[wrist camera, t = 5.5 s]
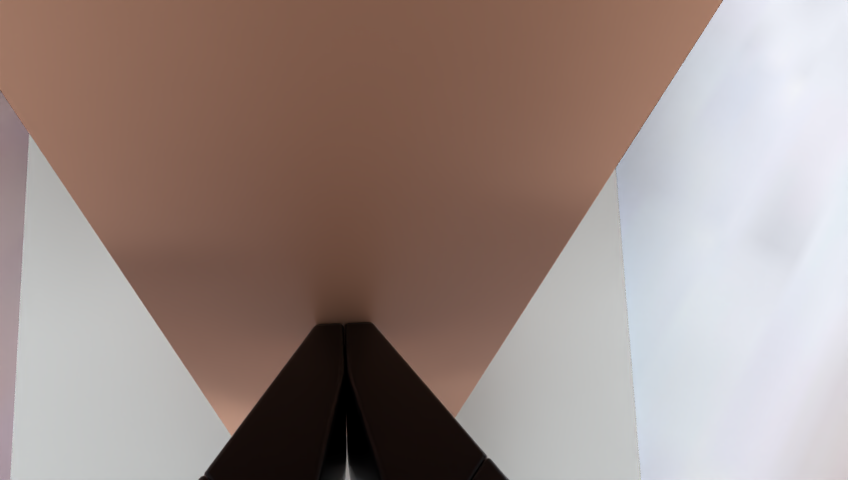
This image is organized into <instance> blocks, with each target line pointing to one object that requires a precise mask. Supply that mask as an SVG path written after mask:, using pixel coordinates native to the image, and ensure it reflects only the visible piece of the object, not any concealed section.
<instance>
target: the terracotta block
mask: <svg viewBox="0 0 848 480" xmlns="http://www.w3.org/2000/svg"><path fill="white" fill-rule="evenodd" d="M722 1H723V0H0V90H1V92H2V93H3V95H4V96H5V98H6V99H7V101H8V102H9V104H10V105H11V107H12V108H13V110H14V111H15V113H16V114H17V116H18V117H19V119H20V120H21V122H22V123H23V125H24V126H25V128H26V129H27V131H28V132H29V134H30V135H31V137H32V138H33V140H34V141H35V143H36V144H37V146H38V147H39V149H40V150H41V152H42V153H43V155H44V156H45V158H46V159H47V161H48V162H49V164H50V165H51V167H52V168H53V170H54V171H55V173H56V174H57V176H58V177H59V179H60V180H61V182H62V183H63V185H64V186H65V188H66V189H67V191H68V192H69V194H70V195H71V197H72V198H73V200H74V201H75V203H76V204H77V206H78V207H79V209H80V210H81V212H82V213H83V215H84V216H85V218H86V219H87V221H88V222H89V224H90V225H91V227H92V228H93V230H94V231H95V233H96V234H97V236H98V237H99V239H100V240H101V242H102V243H103V245H104V246H105V248H106V249H107V251H108V252H109V254H110V255H111V257H112V258H113V259H114V261H115V262H116V264H117V265H118V267H119V268H120V270H121V271H122V273H123V274H124V276H125V277H126V279H127V280H128V282H129V283H130V285H131V286H132V288H133V289H134V291H135V292H136V294H137V295H138V297H139V298H140V300H141V301H142V303H143V304H144V306H145V307H146V309H147V310H148V312H149V313H150V315H151V316H152V318H153V319H154V321H155V322H156V324H157V325H158V327H159V328H160V330H161V331H162V333H163V334H164V336H165V337H166V339H167V340H168V342H169V343H170V345H171V346H172V348H173V349H174V351H175V352H176V354H177V355H178V357H179V358H180V360H181V361H182V363H183V364H184V366H185V367H186V369H187V370H188V372H189V373H190V375H191V376H192V378H193V379H194V381H195V382H196V384H197V385H198V387H199V388H200V390H201V391H202V393H203V394H204V396H205V397H206V399H207V400H208V402H209V403H210V405H211V406H212V408H213V409H214V411H215V412H216V414H217V415H218V417H219V418H220V420H221V421H222V423H223V424H224V426H225V427H226V429H227V430H228V432H229V433H230V435H231V436H232V435H233V434H234V433H235V431H236V430H237V429H238V427H239V426H240V425H241V423H242V422H243V421H244V419H245V418H246V417H247V415H248V414H249V413H250V411H251V410H252V409H253V407H254V406H255V405H256V403H257V402H258V401H259V399H260V398H261V397H262V395H263V394H264V393H265V391H266V390H267V389H268V387H269V386H270V385H271V383H272V382H273V381H274V379H275V378H276V377H277V375H278V374H279V373H280V371H281V370H282V368H283V367H284V366H285V364H286V363H287V362H288V360H289V359H290V358H291V356H292V355H293V354H294V352H295V351H296V350H297V348H298V347H299V346H300V344H301V343H302V342H303V340H304V339H305V338H306V336H307V335H308V334H309V332H310V331H311V330H312V328H313V327H314V326H315V325H317V324H331V323H340V324H342V325H343V327H345V325H346V324H347V323H359V322H371V323H373V324H374V325H375V326H376V327H377V329H378V330H379V331H380V332H381V333H382V334H383V336H384V337H385V338H386V339H387V340H388V341H389V342H390V344H391V345H392V346H393V347H394V348H395V349H396V351H397V352H398V353H399V354H400V355H401V356H402V358H403V359H404V360H405V361H406V362H407V363H408V364H409V366H410V367H411V368H412V369H413V370H414V371H415V373H416V374H417V375H418V376H419V377H420V378H421V380H422V381H423V382H424V383H425V384H426V385H427V387H428V388H429V389H430V390H431V391H432V392H433V393H434V395H435V396H436V397H437V398H438V399H439V400H440V402H441V403H442V404H443V405H444V406H445V407H446V409H447V410H448V411H449V412H450V413H451V414H452V415H453V417H454V418H455V417H456V416H457V414H458V412H459V411H460V409H461V408H462V406H463V405H464V403H465V402H466V400H467V398H468V397H469V395H470V394H471V392H472V391H473V389H474V388H475V386H476V384H477V383H478V381H479V380H480V378H481V377H482V375H483V374H484V372H485V370H486V369H487V367H488V366H489V364H490V363H491V361H492V360H493V358H494V356H495V355H496V353H497V352H498V350H499V349H500V347H501V345H502V344H503V342H504V341H505V339H506V338H507V336H508V335H509V333H510V331H511V330H512V328H513V327H514V325H515V324H516V322H517V321H518V319H519V317H520V316H521V314H522V313H523V311H524V310H525V308H526V307H527V305H528V303H529V302H530V300H531V299H532V297H533V296H534V294H535V293H536V291H537V289H538V288H539V286H540V285H541V283H542V282H543V280H544V279H545V277H546V275H547V274H548V272H549V271H550V269H551V268H552V266H553V264H554V263H555V261H556V260H557V258H558V257H559V255H560V254H561V252H562V250H563V249H564V247H565V246H566V244H567V243H568V241H569V240H570V238H571V236H572V235H573V233H574V232H575V230H576V229H577V227H578V226H579V224H580V222H581V221H582V219H583V218H584V216H585V215H586V213H587V212H588V210H589V208H590V207H591V205H592V204H593V202H594V201H595V199H596V198H597V196H598V194H599V193H600V191H601V190H602V188H603V187H604V185H605V183H606V182H607V180H608V179H609V177H610V176H611V174H612V173H613V171H614V169H615V168H616V166H617V165H618V163H619V162H620V160H621V159H622V157H623V155H624V154H625V152H626V151H627V149H628V148H629V146H630V145H631V143H632V141H633V140H634V138H635V137H636V135H637V134H638V132H639V131H640V129H641V127H642V126H643V124H644V123H645V121H646V120H647V118H648V117H649V115H650V113H651V112H652V110H653V109H654V107H655V106H656V104H657V102H658V101H659V99H660V98H661V96H662V95H663V93H664V92H665V90H666V88H667V87H668V85H669V84H670V82H671V81H672V79H673V78H674V76H675V74H676V73H677V71H678V70H679V68H680V67H681V65H682V64H683V62H684V60H685V59H686V57H687V56H688V54H689V53H690V51H691V50H692V48H693V46H694V45H695V43H696V42H697V40H698V39H699V37H700V36H701V34H702V32H703V31H704V29H705V28H706V26H707V25H708V23H709V21H710V20H711V18H712V17H713V15H714V14H715V12H716V11H717V9H718V7H719V6H720V4H721V3H722ZM346 436H347V428H346Z"/></svg>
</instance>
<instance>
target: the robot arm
mask: <svg viewBox="0 0 848 480" xmlns="http://www.w3.org/2000/svg"><path fill="white" fill-rule="evenodd" d="M346 428H347V437H346ZM347 456H348V468H349V475H350V480H509V479H508V478H507V477H506V476H505V475H504V474H503V472H502V471H501V470H500V469H499V468H498V466H497V465H496V464H495V463H494V462H493V461H492V460H491V459H490V458H487V455H486V454H485V453H484V451H483V450H482V449H481V448H480V447H479V446H478V444H477V443H476V442H475V441H474V440H473V439H472V438H471V436H470V435H469V434H468V433H467V432H466V431H465V429H464V428H463V427H462V426H461V425H460V424H459V422H458V421H457V420H456V419H455V418H454V417H453V415H452V414H451V413H450V412H449V411H448V410H447V409H446V407H445V406H444V405H443V404H442V403H441V402H440V400H439V399H438V398H437V397H436V396H435V395H434V393H433V392H432V391H431V390H430V389H429V388H428V387H427V385H426V384H425V383H424V382H423V381H422V380H421V378H420V377H419V376H418V375H417V374H416V373H415V371H414V370H413V369H412V368H411V367H410V366H409V364H408V363H407V362H406V361H405V360H404V359H403V358H402V356H401V355H400V354H399V353H398V352H397V351H396V349H395V348H394V347H393V346H392V345H391V344H390V342H389V341H388V340H387V339H386V338H385V337H384V336H383V334H382V333H381V332H380V331H379V330H378V329H377V327H376V326H375V325H374V324H373V323H371V322H359V323H347V324H346V325H345V327H343V325H342V324H340V323H331V324H317V325H315V326H314V327H313V328H312V330H311V331H310V332H309V334H308V335H307V336H306V338H305V339H304V340H303V342H302V343H301V344H300V346H299V347H298V348H297V350H296V351H295V352H294V354H293V355H292V356H291V358H290V359H289V360H288V362H287V363H286V364H285V366H284V367H283V368H282V370H281V371H280V373H279V374H278V375H277V377H276V378H275V379H274V381H273V382H272V383H271V385H270V386H269V387H268V389H267V390H266V391H265V393H264V394H263V395H262V397H261V398H260V399H259V401H258V402H257V403H256V405H255V406H254V407H253V409H252V410H251V411H250V413H249V414H248V415H247V417H246V418H245V419H244V421H243V422H242V423H241V425H240V426H239V427H238V429H237V430H236V431H235V433H234V434H233V435H232V437H231V438H230V439H229V441H228V442H227V443H226V445H225V446H224V447H223V449H222V450H221V451H220V453H219V454H218V455H217V457H216V458H215V459H214V461H213V462H212V463H211V465H210V466H209V467H208V469H207V470H206V471H205V473H204V476H201V477H200V478H199V479H198V480H345V477H346V465H347Z"/></svg>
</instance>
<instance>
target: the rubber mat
mask: <svg viewBox="0 0 848 480" xmlns="http://www.w3.org/2000/svg"><path fill="white" fill-rule="evenodd" d="M455 419H456V420H457V421H458V422H459V424H460V425H461V426H462V427H463V428H464V429H465V431H466V432H467V433H468V434H469V435H470V436H471V438H472V439H473V440H474V441H475V442H476V443H477V444H478V446H479V447H480V448H481V449H482V450H483V451H484V453H485V454H486V455H487V458H490V459H491V460H492V461H493V462H494V463H495V464H496V465H497V466H498V468H499V469H500V470H501V471H502V472H503V474H504V475H505V476H506V477H507V478H508V479H509V480H641V475H640V463H639V450H638V438H637V426H636V413H635V401H634V389H633V376H632V364H631V352H630V339H629V327H628V314H627V302H626V290H625V277H624V265H623V253H622V240H621V228H620V216H619V203H618V191H617V178H616V168H615V169H614V171H613V173H612V174H611V176H610V177H609V179H608V180H607V182H606V183H605V185H604V187H603V188H602V190H601V191H600V193H599V194H598V196H597V198H596V199H595V201H594V202H593V204H592V205H591V207H590V208H589V210H588V212H587V213H586V215H585V216H584V218H583V219H582V221H581V222H580V224H579V226H578V227H577V229H576V230H575V232H574V233H573V235H572V236H571V238H570V240H569V241H568V243H567V244H566V246H565V247H564V249H563V250H562V252H561V254H560V255H559V257H558V258H557V260H556V261H555V263H554V264H553V266H552V268H551V269H550V271H549V272H548V274H547V275H546V277H545V279H544V280H543V282H542V283H541V285H540V286H539V288H538V289H537V291H536V293H535V294H534V296H533V297H532V299H531V300H530V302H529V303H528V305H527V307H526V308H525V310H524V311H523V313H522V314H521V316H520V317H519V319H518V321H517V322H516V324H515V325H514V327H513V328H512V330H511V331H510V333H509V335H508V336H507V338H506V339H505V341H504V342H503V344H502V345H501V347H500V349H499V350H498V352H497V353H496V355H495V356H494V358H493V360H492V361H491V363H490V364H489V366H488V367H487V369H486V370H485V372H484V374H483V375H482V377H481V378H480V380H479V381H478V383H477V384H476V386H475V388H474V389H473V391H472V392H471V394H470V395H469V397H468V398H467V400H466V402H465V403H464V405H463V406H462V408H461V409H460V411H459V412H458V414H457V416H456V417H455ZM231 437H232V436H231V435H230V433H229V432H228V430H227V429H226V427H225V426H224V424H223V423H222V421H221V420H220V418H219V417H218V415H217V414H216V412H215V411H214V409H213V408H212V406H211V405H210V403H209V402H208V400H207V399H206V397H205V396H204V394H203V393H202V391H201V390H200V388H199V387H198V385H197V384H196V382H195V381H194V379H193V378H192V376H191V375H190V373H189V372H188V370H187V369H186V367H185V366H184V364H183V363H182V361H181V360H180V358H179V357H178V355H177V354H176V352H175V351H174V349H173V348H172V346H171V345H170V343H169V342H168V340H167V339H166V337H165V336H164V334H163V333H162V331H161V330H160V328H159V327H158V325H157V324H156V322H155V321H154V319H153V318H152V316H151V315H150V313H149V312H148V310H147V309H146V307H145V306H144V304H143V303H142V301H141V300H140V298H139V297H138V295H137V294H136V292H135V291H134V289H133V288H132V286H131V285H130V283H129V282H128V280H127V279H126V277H125V276H124V274H123V273H122V271H121V270H120V268H119V267H118V265H117V264H116V262H115V261H114V259H113V258H112V257H111V255H110V254H109V252H108V251H107V249H106V248H105V246H104V245H103V243H102V242H101V240H100V239H99V237H98V236H97V234H96V233H95V231H94V230H93V228H92V227H91V225H90V224H89V222H88V221H87V219H86V218H85V216H84V215H83V213H82V212H81V210H80V209H79V207H78V206H77V204H76V203H75V201H74V200H73V198H72V197H71V195H70V194H69V192H68V191H67V189H66V188H65V186H64V185H63V183H62V182H61V180H60V179H59V177H58V176H57V174H56V173H55V171H54V170H53V168H52V167H51V165H50V164H49V162H48V161H47V159H46V158H45V156H44V155H43V153H42V152H41V150H40V149H39V147H38V146H37V144H36V143H35V141H34V140H33V138H32V137H31V135H30V134H29V145H28V163H27V181H26V200H25V218H24V236H23V255H22V273H21V292H20V310H19V328H18V347H17V365H16V384H15V402H14V420H13V439H12V457H11V476H10V480H198V479H199V478H200V477H201V476H204V473H205V471H206V470H207V469H208V467H209V466H210V465H211V463H212V462H213V461H214V459H215V458H216V457H217V455H218V454H219V453H220V451H221V450H222V449H223V447H224V446H225V445H226V443H227V442H228V441H229V439H230V438H231ZM346 437H347V436H346ZM345 480H350V475H349V468H348V456H347V465H346V477H345Z"/></svg>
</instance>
